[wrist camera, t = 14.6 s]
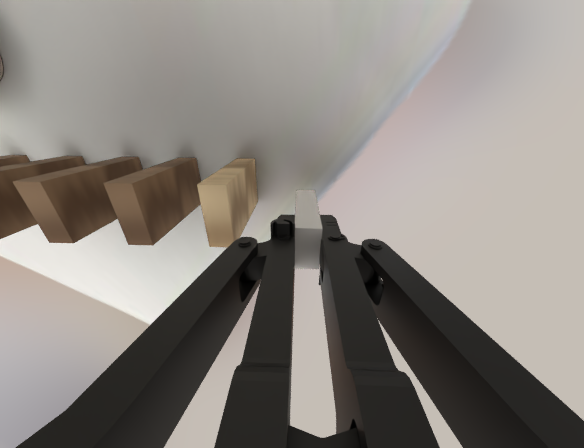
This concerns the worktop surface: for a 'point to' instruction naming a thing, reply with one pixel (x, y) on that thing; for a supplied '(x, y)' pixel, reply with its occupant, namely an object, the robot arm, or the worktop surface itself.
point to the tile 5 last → (13, 160)
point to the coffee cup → (1, 68)
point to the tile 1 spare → (228, 201)
